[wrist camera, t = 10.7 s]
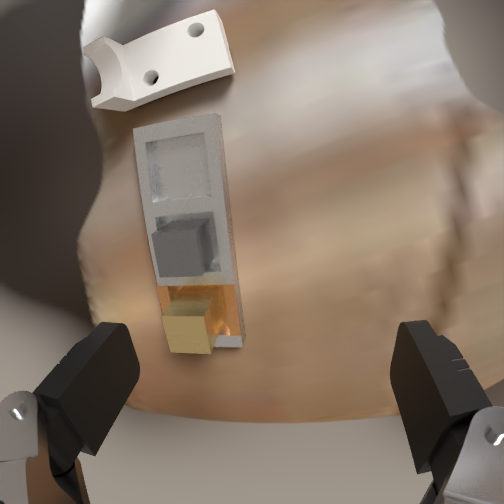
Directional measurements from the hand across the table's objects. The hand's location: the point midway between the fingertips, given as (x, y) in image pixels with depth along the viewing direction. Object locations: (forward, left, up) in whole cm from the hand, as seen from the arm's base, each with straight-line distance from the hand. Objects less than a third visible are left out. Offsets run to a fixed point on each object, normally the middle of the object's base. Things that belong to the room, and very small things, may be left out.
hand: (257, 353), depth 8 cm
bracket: (-17, -10, -26) cm, 33 cm away
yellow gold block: (+11, -10, -24) cm, 29 cm away
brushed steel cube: (+3, -10, -25) cm, 27 cm away
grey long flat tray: (+3, -10, -26) cm, 28 cm away
